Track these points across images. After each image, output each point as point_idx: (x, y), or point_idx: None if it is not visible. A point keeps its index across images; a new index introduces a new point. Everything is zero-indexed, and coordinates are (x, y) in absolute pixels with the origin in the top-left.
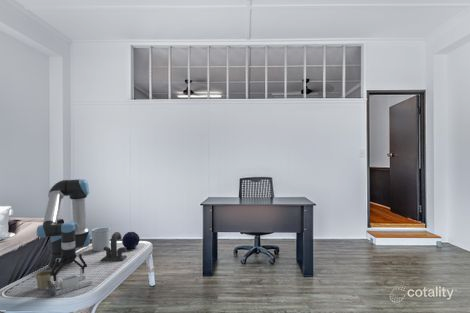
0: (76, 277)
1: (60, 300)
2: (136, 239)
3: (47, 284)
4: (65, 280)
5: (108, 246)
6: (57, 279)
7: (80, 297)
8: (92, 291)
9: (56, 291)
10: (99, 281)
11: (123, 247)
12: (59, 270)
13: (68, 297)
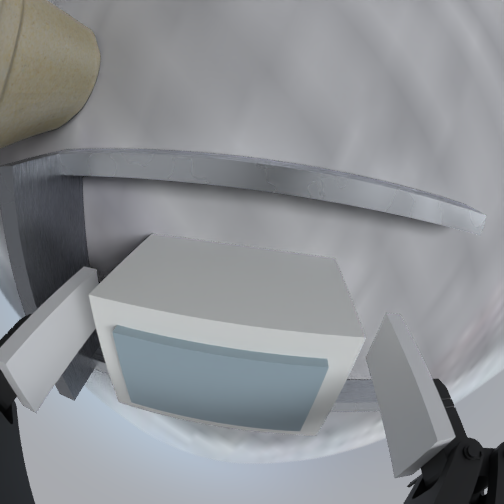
0: (290, 433)
1: (132, 417)
2: None
3: (37, 132)
4: (153, 409)
5: None
6: (58, 373)
7: (227, 458)
8: (308, 453)
9: (100, 365)
10: (447, 371)
11: None
12: (23, 477)
13: (174, 425)
